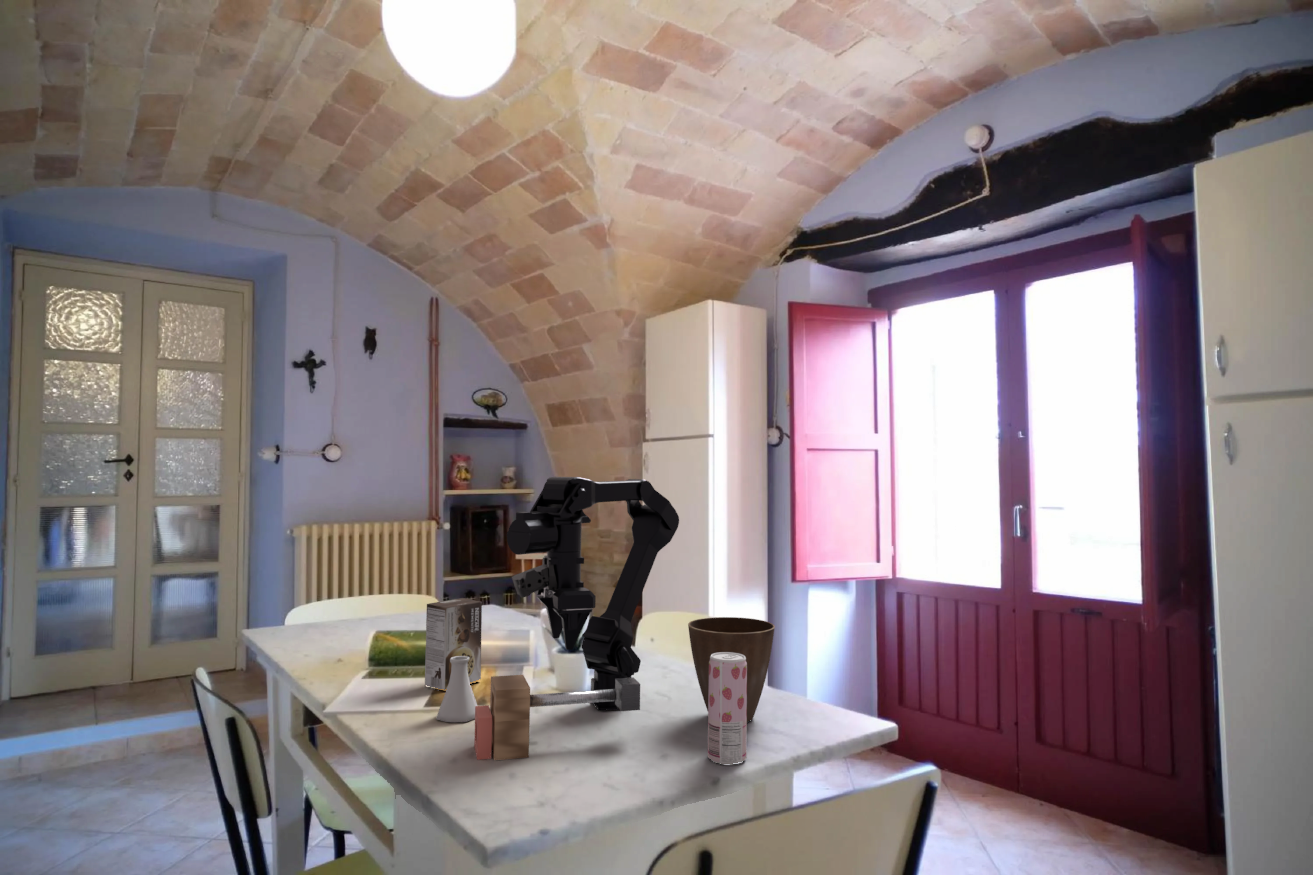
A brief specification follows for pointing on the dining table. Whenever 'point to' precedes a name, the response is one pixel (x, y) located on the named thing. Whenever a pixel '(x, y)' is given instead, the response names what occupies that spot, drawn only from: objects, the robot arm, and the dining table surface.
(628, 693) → the shaft
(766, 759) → the dining table surface
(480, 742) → the block
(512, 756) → the block
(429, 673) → the coffee box
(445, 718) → the flask
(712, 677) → the beverage can
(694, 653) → the plant pot
